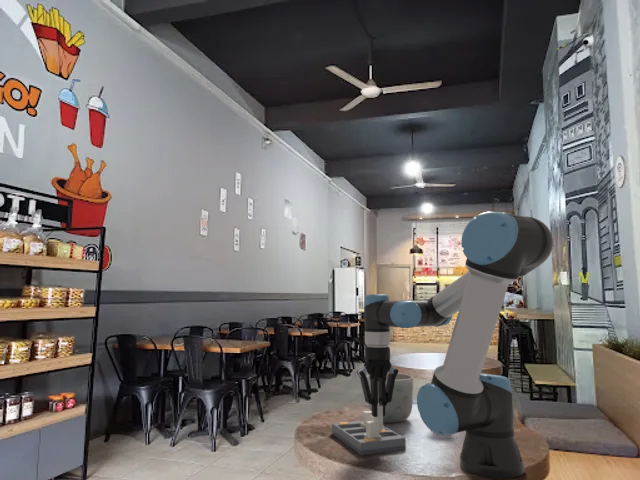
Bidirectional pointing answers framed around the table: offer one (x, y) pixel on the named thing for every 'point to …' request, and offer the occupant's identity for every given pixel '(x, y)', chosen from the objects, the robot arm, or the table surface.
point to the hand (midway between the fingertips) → (378, 427)
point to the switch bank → (355, 439)
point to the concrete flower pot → (398, 399)
